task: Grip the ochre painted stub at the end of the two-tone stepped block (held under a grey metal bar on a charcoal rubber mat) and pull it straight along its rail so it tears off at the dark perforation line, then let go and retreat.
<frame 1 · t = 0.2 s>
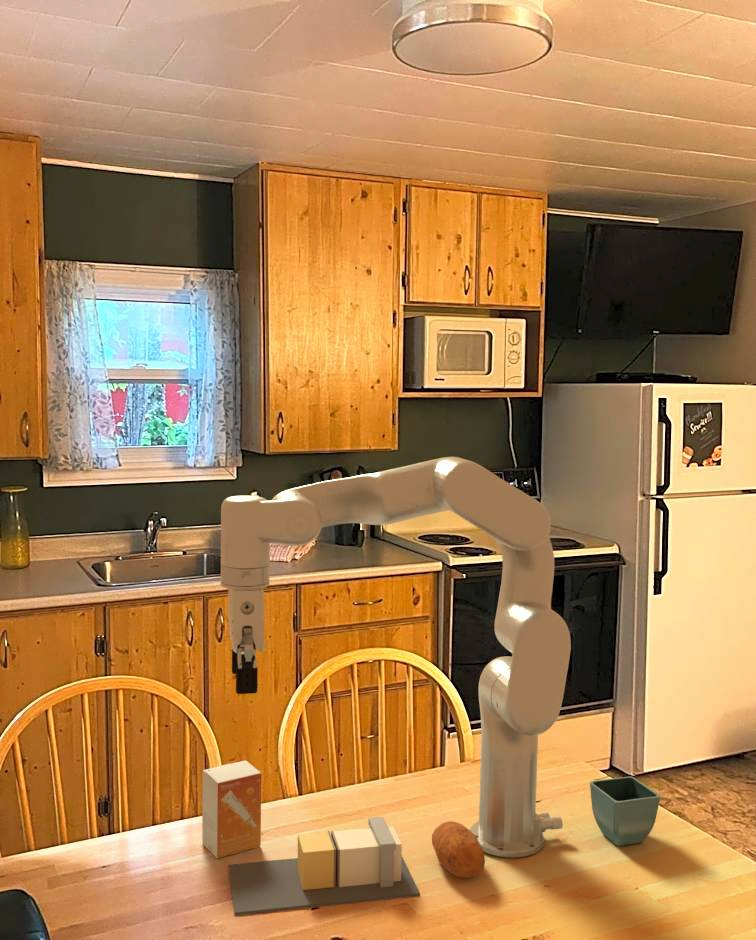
hand: (244, 682, 151), 30 cm above the table, fingers open, 9 cm apart
two-tone stepped block: (365, 876, 152), resting on mat
potato: (456, 868, 155), on the table
stub: (316, 860, 150), point 3 cm above the table, slide at 0.0 cm
small box: (231, 846, 161), on the table
mat: (321, 880, 150), on the table
flower pot: (622, 839, 166), on the table
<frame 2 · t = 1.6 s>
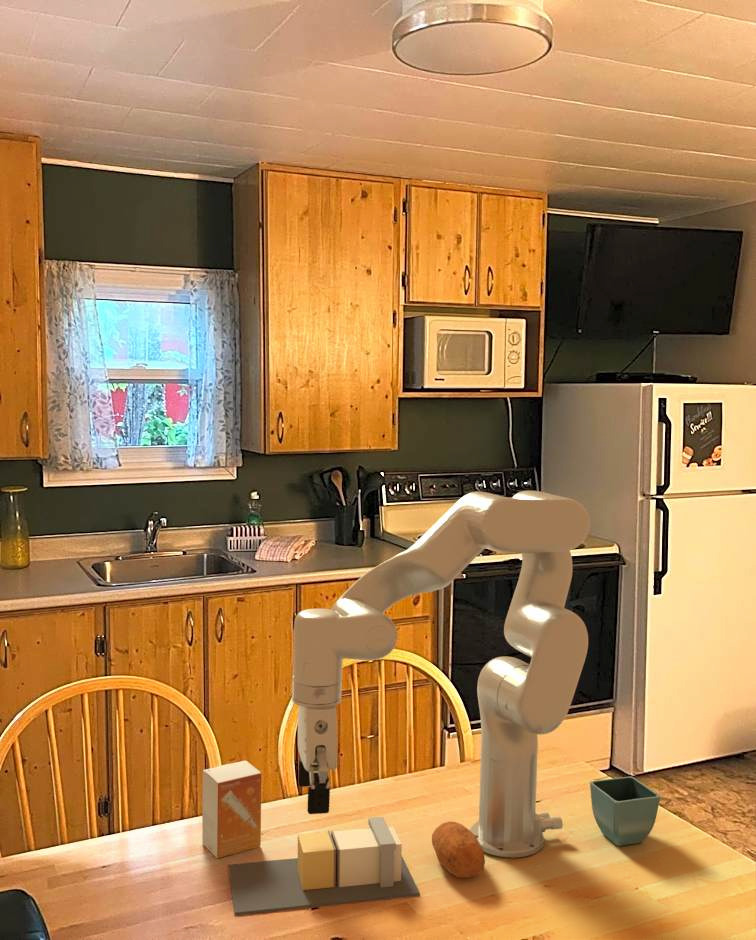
hand: (313, 798, 149), 14 cm above the table, fingers open, 9 cm apart
nothing on the table moved.
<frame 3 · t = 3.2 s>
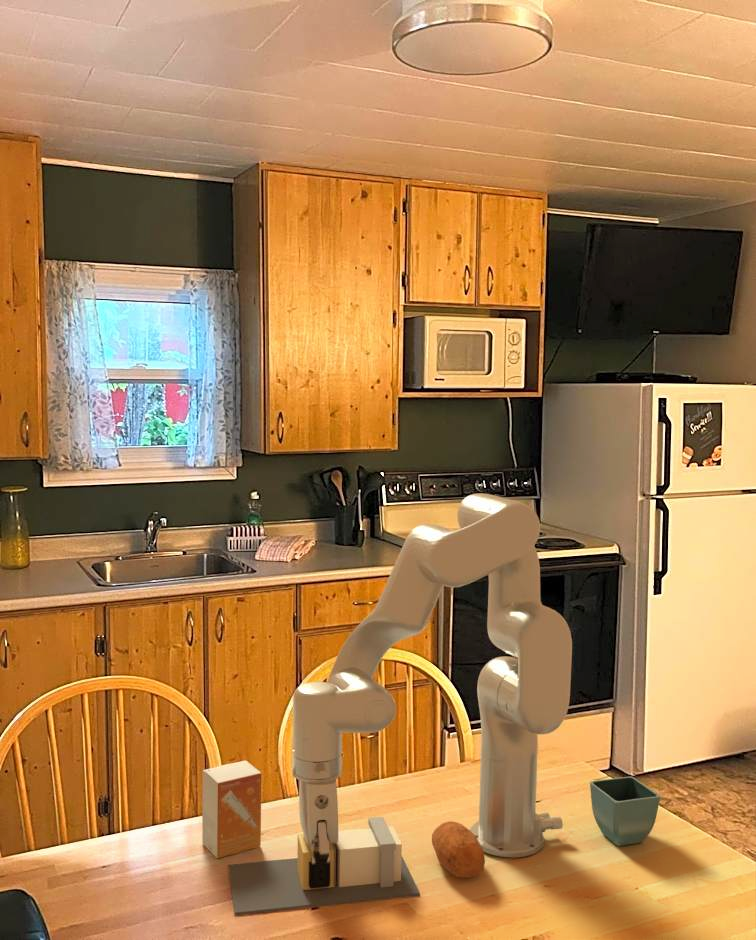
hand: (315, 874, 150), 1 cm above the table, fingers closed on stub, 6 cm apart
stub: (316, 860, 150), point 3 cm above the table, slide at 0.0 cm, touching gripper
everything else where it was.
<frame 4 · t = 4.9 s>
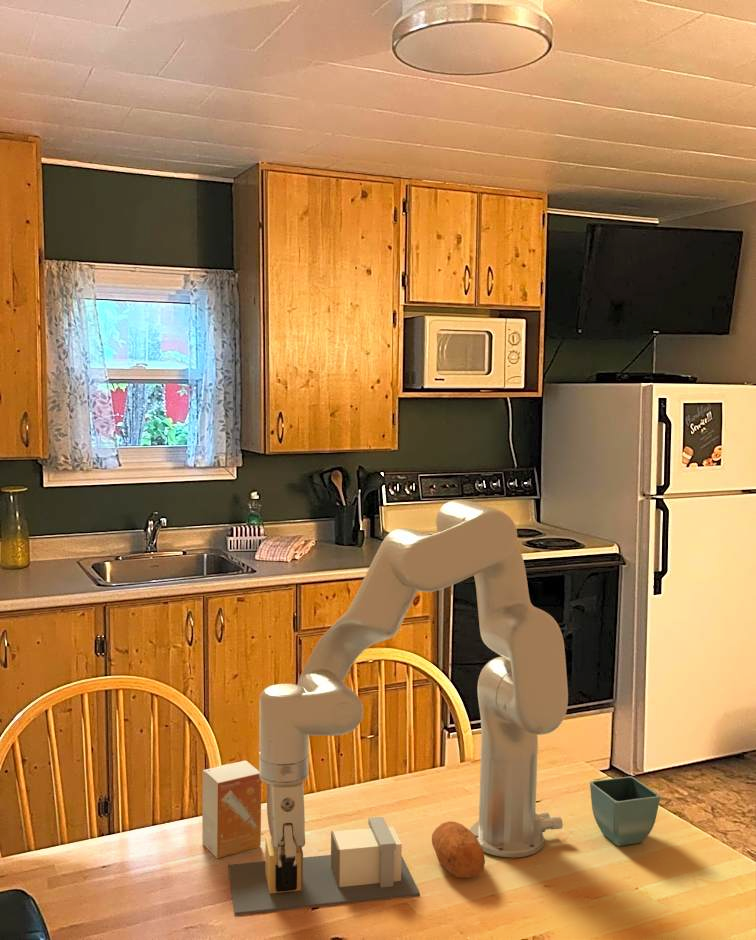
hand: (283, 877, 149), 1 cm above the table, fingers closed on stub, 6 cm apart
stub: (283, 863, 149), point 3 cm above the table, slide at 5.1 cm, touching gripper
everything else where it was.
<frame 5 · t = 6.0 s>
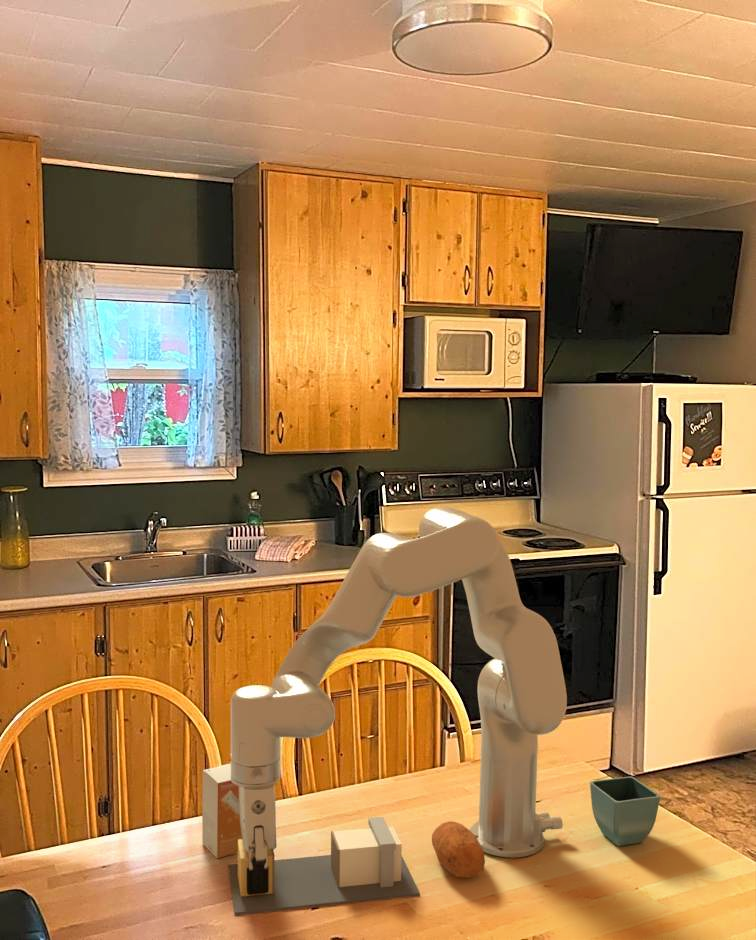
hand: (255, 880, 148), 1 cm above the table, fingers closed on stub, 6 cm apart
stub: (255, 865, 148), point 3 cm above the table, slide at 9.4 cm, touching gripper
everything else where it was.
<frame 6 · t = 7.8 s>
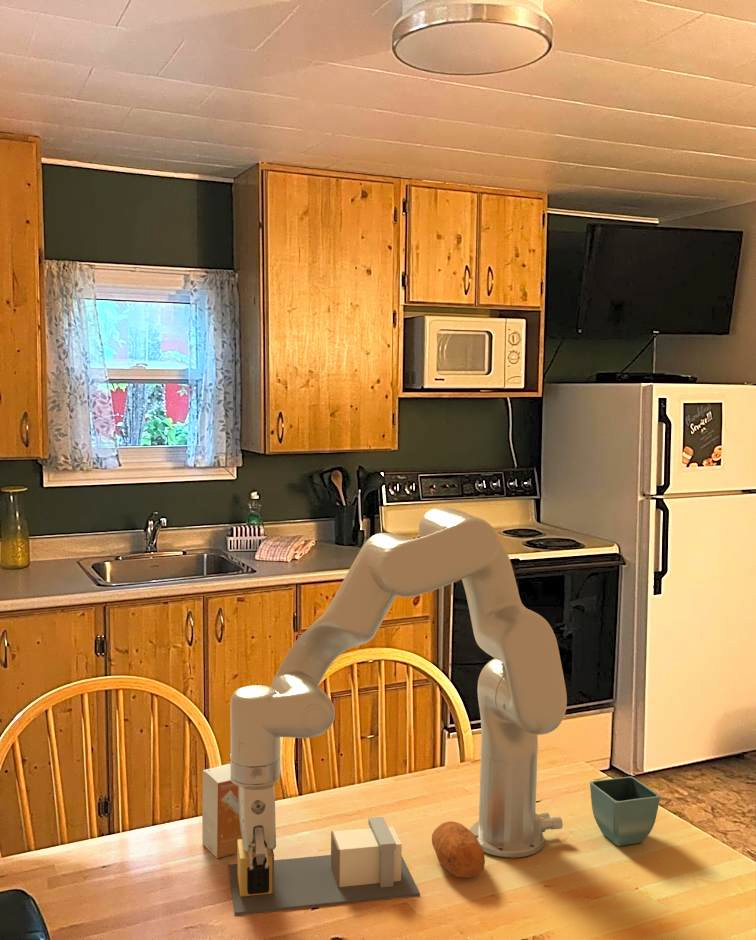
hand: (255, 875, 148), 2 cm above the table, fingers open, 9 cm apart
stub: (255, 865, 148), point 4 cm above the table, slide at 9.5 cm
everything else where it was.
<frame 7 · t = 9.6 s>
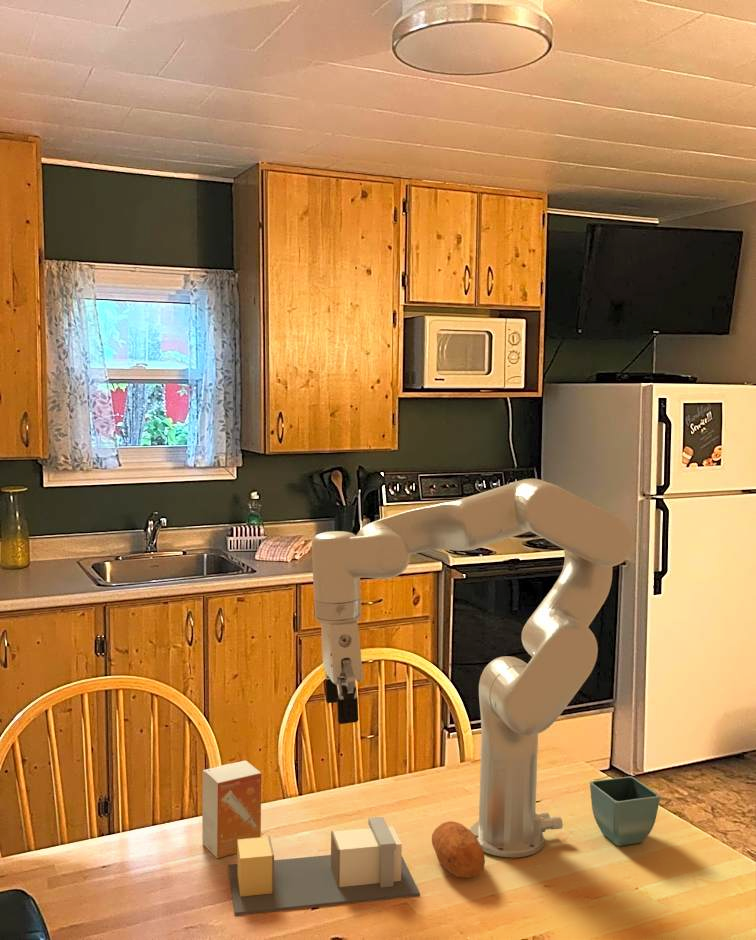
hand: (341, 711, 157), 24 cm above the table, fingers open, 9 cm apart
nothing on the table moved.
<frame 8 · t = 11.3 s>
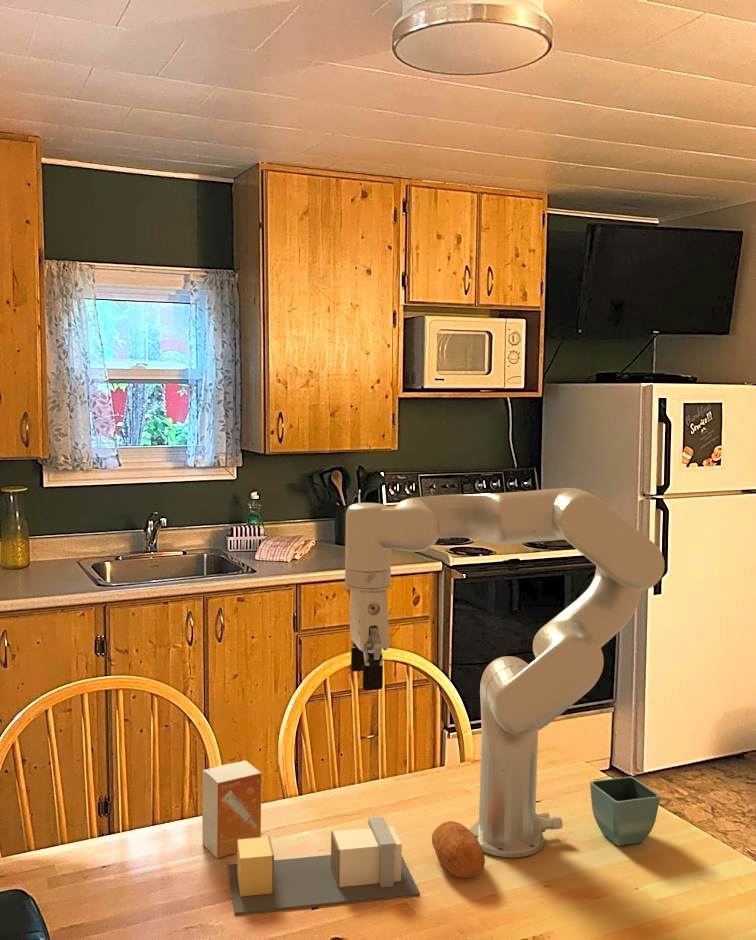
hand: (366, 679, 160), 28 cm above the table, fingers open, 9 cm apart
nothing on the table moved.
at the end: stub slide at 9.5 cm; the gripper is holding nothing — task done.
